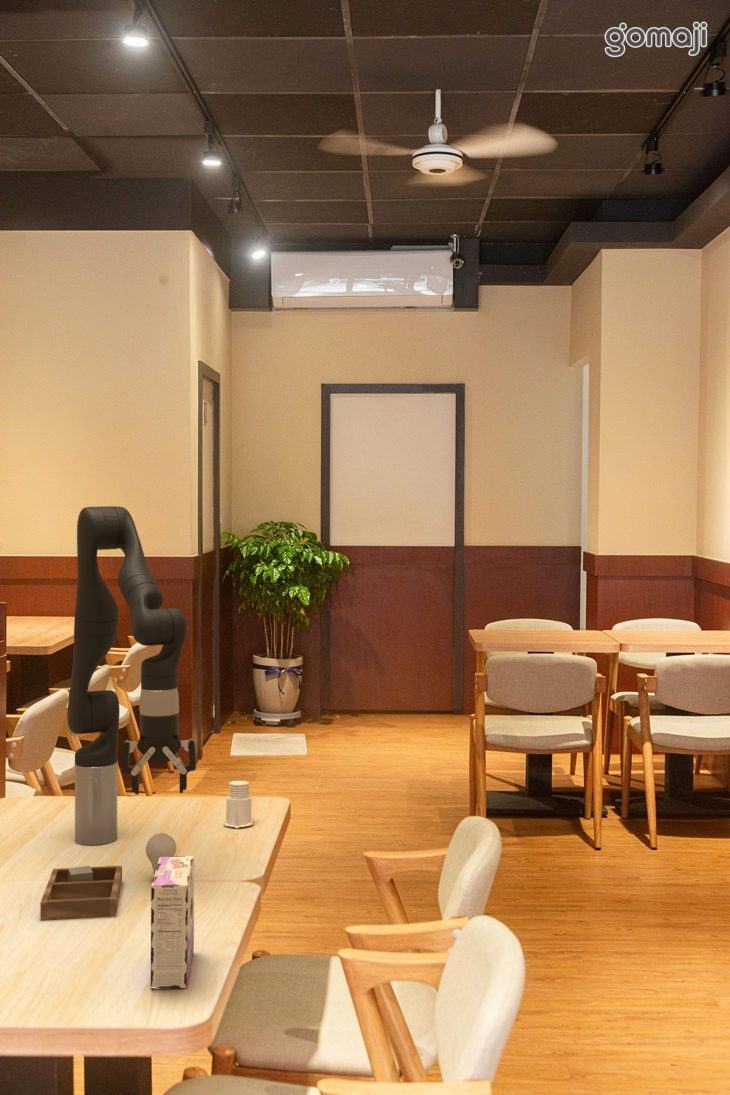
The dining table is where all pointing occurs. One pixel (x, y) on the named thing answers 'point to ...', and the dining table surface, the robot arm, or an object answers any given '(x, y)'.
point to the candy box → (172, 922)
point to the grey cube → (80, 874)
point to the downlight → (238, 804)
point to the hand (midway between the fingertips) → (159, 792)
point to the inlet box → (82, 895)
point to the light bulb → (160, 848)
